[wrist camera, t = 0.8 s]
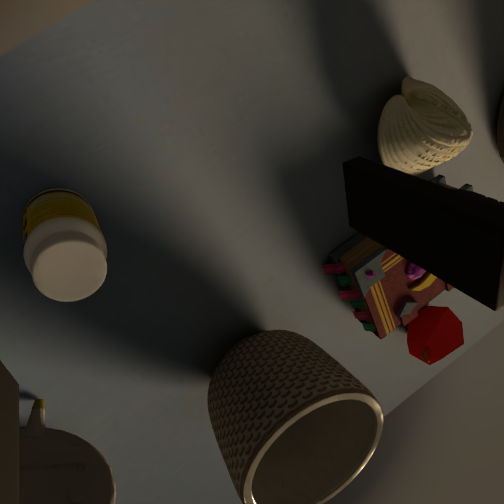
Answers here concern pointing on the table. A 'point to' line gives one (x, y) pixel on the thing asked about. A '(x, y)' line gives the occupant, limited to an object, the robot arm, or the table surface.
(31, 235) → the supplement bottle
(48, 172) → the table surface
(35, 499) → the alarm clock
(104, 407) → the table surface
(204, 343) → the table surface
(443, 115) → the seashell
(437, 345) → the apple
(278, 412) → the planter
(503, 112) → the bowl
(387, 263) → the decorative book
